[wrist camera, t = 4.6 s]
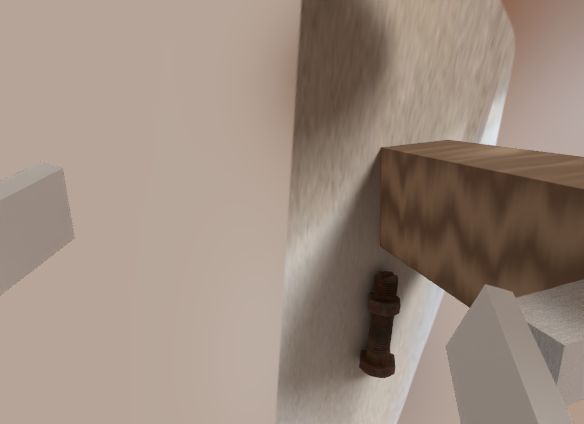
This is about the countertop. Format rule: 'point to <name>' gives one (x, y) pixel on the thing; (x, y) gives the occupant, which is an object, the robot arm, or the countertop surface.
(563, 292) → the steel block
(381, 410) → the countertop surface
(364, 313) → the countertop surface
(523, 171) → the wooden block
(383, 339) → the bolt
